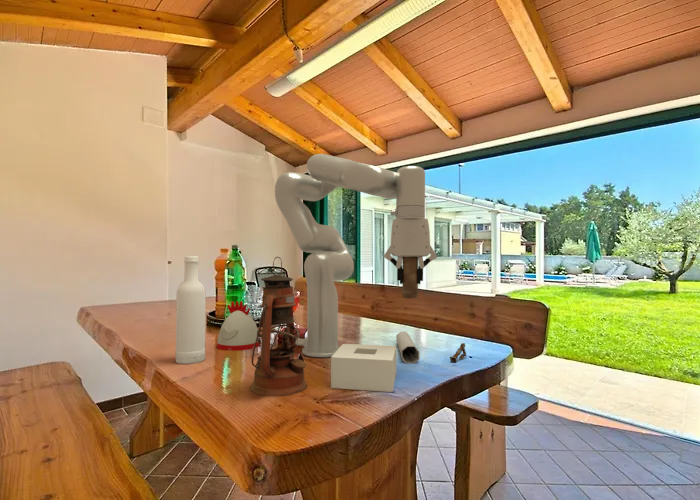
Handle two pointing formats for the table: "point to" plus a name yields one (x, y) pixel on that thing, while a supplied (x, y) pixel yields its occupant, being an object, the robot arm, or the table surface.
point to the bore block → (364, 367)
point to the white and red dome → (238, 330)
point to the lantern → (278, 364)
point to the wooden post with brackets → (454, 358)
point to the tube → (407, 348)
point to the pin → (410, 277)
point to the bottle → (190, 316)
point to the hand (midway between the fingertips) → (410, 282)
